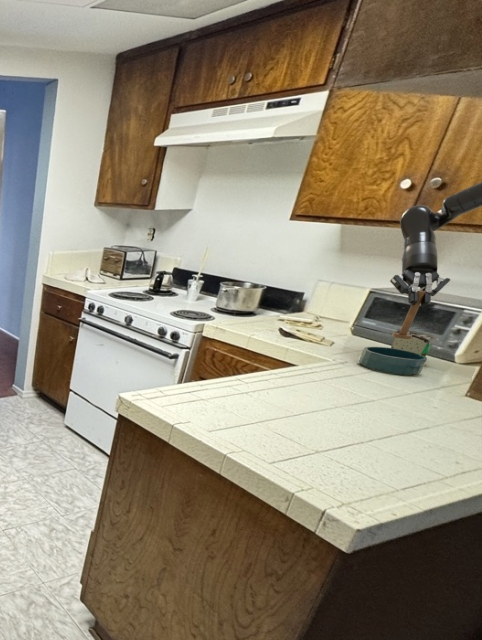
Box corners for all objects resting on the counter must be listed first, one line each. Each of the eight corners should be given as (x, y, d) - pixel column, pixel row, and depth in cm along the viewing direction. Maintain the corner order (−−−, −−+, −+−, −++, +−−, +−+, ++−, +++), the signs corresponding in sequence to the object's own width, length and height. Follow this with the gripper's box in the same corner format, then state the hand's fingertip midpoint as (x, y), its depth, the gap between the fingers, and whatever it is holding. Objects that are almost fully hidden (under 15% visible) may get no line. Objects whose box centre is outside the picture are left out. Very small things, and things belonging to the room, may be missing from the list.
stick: (407, 336, 151) (428, 290, 146) (413, 339, 148) (434, 292, 142) (389, 334, 153) (409, 289, 147) (394, 337, 149) (415, 291, 144)
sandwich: (437, 367, 156) (451, 338, 153) (418, 367, 156) (432, 338, 153) (401, 356, 168) (413, 329, 164) (383, 356, 168) (395, 328, 164)
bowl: (408, 366, 157) (415, 350, 155) (428, 379, 145) (436, 362, 143) (351, 359, 163) (357, 344, 161) (366, 371, 151) (373, 355, 149)
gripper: (397, 250, 150) (396, 294, 144) (457, 253, 144) (459, 299, 138) (384, 265, 156) (383, 308, 151) (441, 269, 150) (442, 313, 145)
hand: (419, 304), depth 144 cm, fingers closed on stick, 2 cm apart
